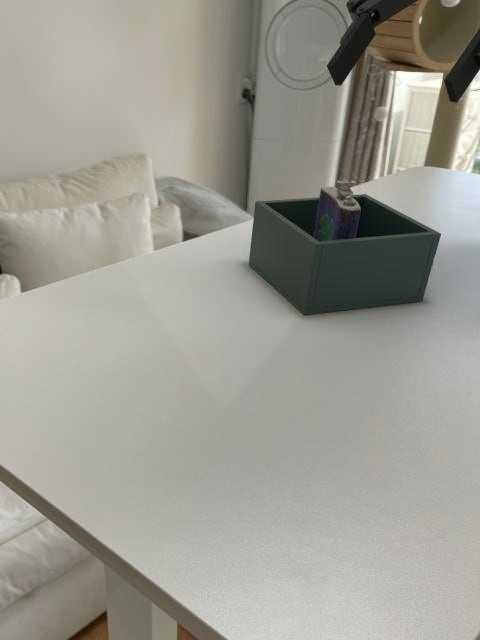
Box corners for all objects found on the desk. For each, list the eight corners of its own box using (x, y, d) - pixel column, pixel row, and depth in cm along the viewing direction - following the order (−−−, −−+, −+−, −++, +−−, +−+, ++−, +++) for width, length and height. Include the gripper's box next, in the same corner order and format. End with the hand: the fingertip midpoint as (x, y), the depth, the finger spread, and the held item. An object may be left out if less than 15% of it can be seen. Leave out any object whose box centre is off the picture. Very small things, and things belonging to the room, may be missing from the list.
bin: (353, 254, 83) (365, 193, 79) (422, 301, 72) (441, 233, 67) (248, 264, 79) (255, 201, 75) (303, 315, 68) (315, 244, 64)
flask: (305, 260, 79) (320, 169, 73) (328, 260, 79) (346, 169, 73) (327, 291, 72) (347, 192, 65) (353, 291, 72) (375, 193, 66)
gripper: (394, -127, 68) (279, 44, 69) (657, -157, 52) (504, 66, 53) (412, -62, 74) (306, 95, 75) (653, -71, 58) (515, 129, 59)
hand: (387, 83), depth 64 cm, fingers open, 13 cm apart
